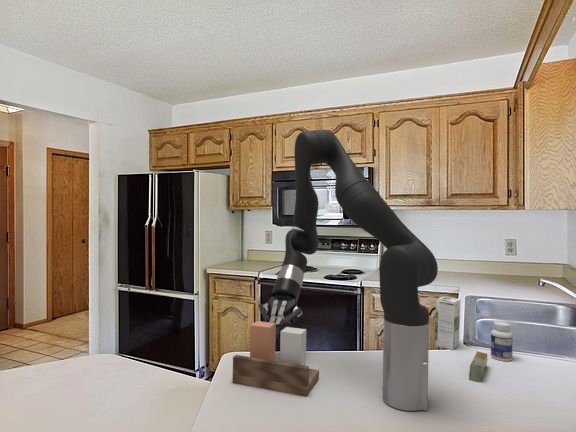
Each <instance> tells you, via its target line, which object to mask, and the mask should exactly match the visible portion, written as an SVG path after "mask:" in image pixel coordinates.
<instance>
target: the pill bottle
mask: <svg viewBox="0 0 576 432" xmlns="http://www.w3.org/2000/svg"><path fill="white" fill-rule="evenodd" d="M493 328H494V329H491V332H490V356H491V358H492V359H494V360H497V361H502V362H510V361H512V360H513V352H514V351H513V350H514V349H513V347H514V346H513V342H514V335H513V332H511V331H510V330H511V324H510V323H509V322H508V323H507V322H505V321H494V323H493Z"/></svg>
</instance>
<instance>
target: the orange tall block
mask: <svg viewBox="0 0 576 432" xmlns="http://www.w3.org/2000/svg"><path fill="white" fill-rule="evenodd" d="M249 337H250V339H249V342H250V343H249V357H253V358H260V359H266V360H272V361H276V344H277V343H276V341H277V339H276V323H269V322H265V321H260V320H256V321H255V322H253V323H252V324H250V336H249Z"/></svg>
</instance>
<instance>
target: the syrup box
mask: <svg viewBox="0 0 576 432" xmlns="http://www.w3.org/2000/svg"><path fill="white" fill-rule="evenodd" d="M434 319H435V320H434V342H433V345H434V347H438V348H444V349H448V350H452V351H453V350H455V349H456V348H457V347H459V345H460V325H461V324H460V323H461V299H459V298H456V297H451V296H441V297H439V298H438V297H437V299H435V314H434Z"/></svg>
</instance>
